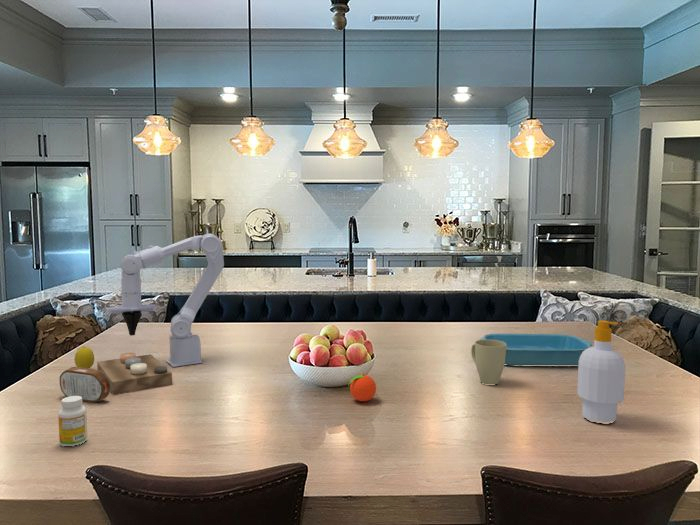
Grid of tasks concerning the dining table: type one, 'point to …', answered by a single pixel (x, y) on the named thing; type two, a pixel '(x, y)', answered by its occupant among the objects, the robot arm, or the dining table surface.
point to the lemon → (84, 357)
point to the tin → (85, 384)
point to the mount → (128, 382)
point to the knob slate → (132, 362)
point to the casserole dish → (541, 348)
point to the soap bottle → (601, 377)
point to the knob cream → (138, 368)
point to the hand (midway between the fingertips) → (132, 334)
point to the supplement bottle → (72, 422)
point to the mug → (489, 359)
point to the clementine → (362, 388)
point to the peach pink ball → (127, 356)
